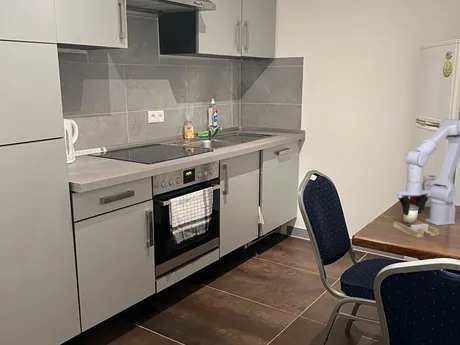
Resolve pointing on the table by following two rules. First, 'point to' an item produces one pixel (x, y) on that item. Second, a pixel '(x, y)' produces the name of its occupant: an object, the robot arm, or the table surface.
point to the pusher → (421, 227)
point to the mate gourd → (414, 198)
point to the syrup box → (427, 185)
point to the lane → (418, 233)
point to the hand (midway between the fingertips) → (411, 213)
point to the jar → (411, 214)
